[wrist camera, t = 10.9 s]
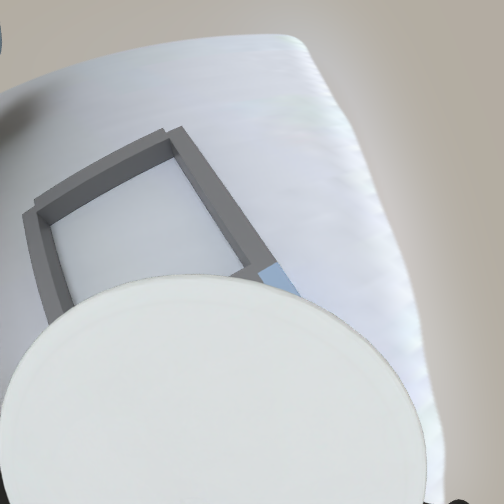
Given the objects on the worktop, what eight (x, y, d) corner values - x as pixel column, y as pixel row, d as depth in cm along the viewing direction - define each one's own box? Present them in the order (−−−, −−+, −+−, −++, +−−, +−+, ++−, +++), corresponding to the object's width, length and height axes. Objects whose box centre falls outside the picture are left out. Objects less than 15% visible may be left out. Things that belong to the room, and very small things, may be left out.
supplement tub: (164, 492, 15) (51, 618, 2) (142, 356, 19) (-24, 288, 5) (315, 475, 16) (434, 596, 3) (291, 337, 20) (390, 233, 6)
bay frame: (34, 221, 24) (21, 208, 22) (182, 139, 28) (178, 121, 26) (195, 549, 15) (191, 564, 12) (386, 442, 18) (401, 447, 16)
